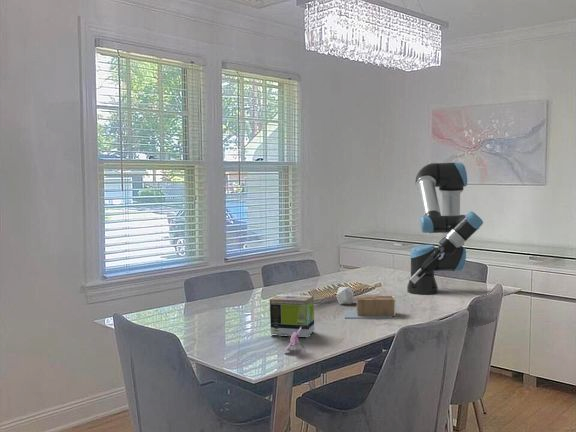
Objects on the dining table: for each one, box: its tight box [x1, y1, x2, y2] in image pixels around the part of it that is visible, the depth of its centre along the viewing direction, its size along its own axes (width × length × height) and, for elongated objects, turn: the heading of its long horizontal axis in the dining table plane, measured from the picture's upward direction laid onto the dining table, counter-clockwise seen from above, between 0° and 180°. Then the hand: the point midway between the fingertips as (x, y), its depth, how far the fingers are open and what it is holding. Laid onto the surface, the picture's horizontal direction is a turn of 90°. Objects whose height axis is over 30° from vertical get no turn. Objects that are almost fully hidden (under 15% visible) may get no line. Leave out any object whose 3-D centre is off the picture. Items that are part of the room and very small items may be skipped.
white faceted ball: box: [335, 286, 355, 305], centre depth 280 cm, size 8×9×10 cm
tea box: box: [269, 293, 315, 338], centre depth 231 cm, size 15×10×15 cm
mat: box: [343, 309, 393, 319], centre depth 259 cm, size 12×20×1 cm, turn 87°
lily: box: [285, 327, 306, 351], centre depth 211 cm, size 11×11×9 cm
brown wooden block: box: [356, 295, 396, 317], centre depth 258 cm, size 7×7×16 cm
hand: (412, 281), depth 256 cm, fingers closed
